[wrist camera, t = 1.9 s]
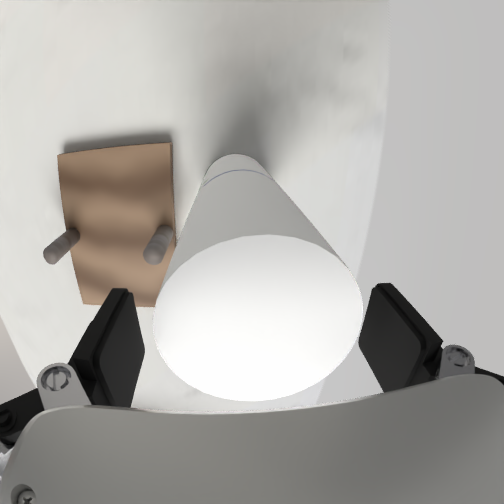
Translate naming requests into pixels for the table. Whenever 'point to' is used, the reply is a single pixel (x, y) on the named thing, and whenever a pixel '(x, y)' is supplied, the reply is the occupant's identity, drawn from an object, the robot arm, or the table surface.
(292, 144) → the table surface
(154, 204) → the board
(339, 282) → the cylindrical container
